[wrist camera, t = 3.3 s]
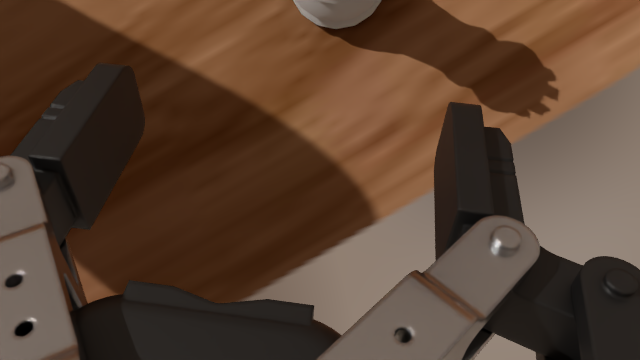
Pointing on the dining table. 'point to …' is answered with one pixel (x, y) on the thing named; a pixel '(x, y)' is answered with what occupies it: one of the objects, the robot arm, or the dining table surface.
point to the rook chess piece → (336, 11)
